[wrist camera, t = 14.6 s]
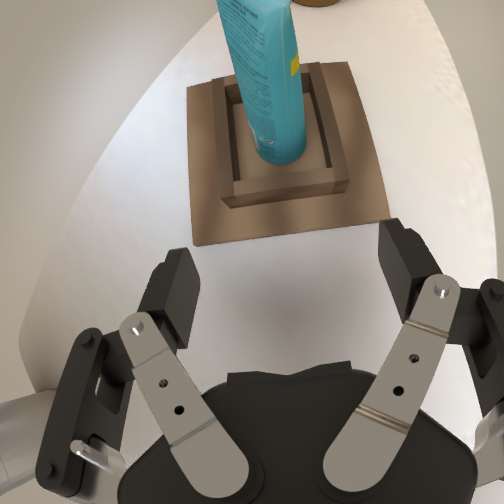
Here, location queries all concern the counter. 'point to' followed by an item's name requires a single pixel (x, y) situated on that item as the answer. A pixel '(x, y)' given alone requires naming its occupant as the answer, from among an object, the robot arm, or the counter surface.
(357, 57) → the counter surface
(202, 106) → the socket board
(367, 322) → the counter surface
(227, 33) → the tube
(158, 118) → the counter surface
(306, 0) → the plant pot
